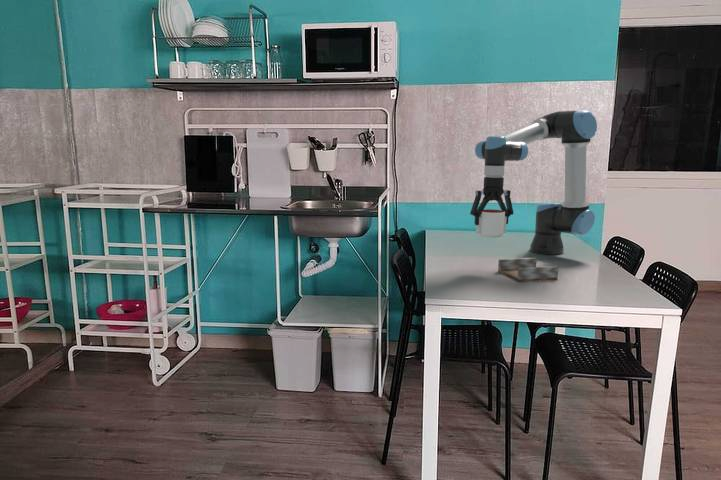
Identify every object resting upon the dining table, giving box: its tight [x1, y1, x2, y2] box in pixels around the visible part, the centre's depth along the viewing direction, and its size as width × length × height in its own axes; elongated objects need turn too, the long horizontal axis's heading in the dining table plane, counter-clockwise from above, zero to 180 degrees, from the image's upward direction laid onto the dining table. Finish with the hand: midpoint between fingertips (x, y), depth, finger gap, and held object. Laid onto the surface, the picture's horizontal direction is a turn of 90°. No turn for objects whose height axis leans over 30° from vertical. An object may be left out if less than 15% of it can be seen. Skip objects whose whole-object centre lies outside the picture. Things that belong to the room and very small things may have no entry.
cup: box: [478, 208, 505, 239], centre depth 212 cm, size 10×10×10 cm
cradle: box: [497, 257, 559, 283], centre depth 208 cm, size 16×16×5 cm
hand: (490, 232), depth 213 cm, fingers closed on cup, 10 cm apart
